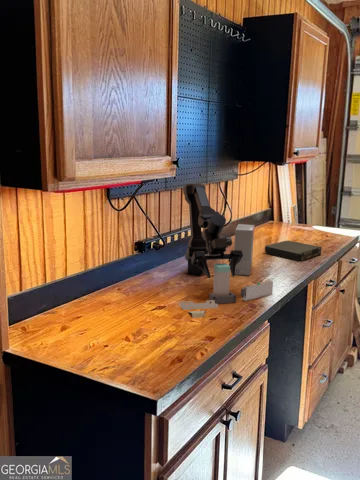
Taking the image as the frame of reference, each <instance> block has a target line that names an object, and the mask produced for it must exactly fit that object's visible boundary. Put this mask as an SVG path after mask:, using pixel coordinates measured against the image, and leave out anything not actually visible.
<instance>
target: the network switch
mask: <svg viewBox="0 0 360 480" xmlns="http://www.w3.org/2000/svg"><path fill="white" fill-rule="evenodd" d="M264 252H265V253H266V255H269V256H272V257H277V258H278V257H279V258H282V259H286V260H290V261H295V262H298V263H299V262H302V261H304V260H308V259H310V258H313V257H316V256H321V254H322V246H318V245H314V244H307V243H303V242H298V241H297V242H296V241H292V240H283V241H278V242H274V243H270V244H267V245H265V247H264Z"/></svg>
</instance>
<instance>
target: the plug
mask: <svg viewBox="0 0 360 480" xmlns="http://www.w3.org/2000/svg"><path fill="white" fill-rule="evenodd" d="M230 275H231V270H230V266H229V264H227V263H226V262H225V263H214V265H213V286H212V287H213V291H212V293H213V294H214V295H215V296H228V295H229V292H230V280H231V279H230V278H231V276H230Z"/></svg>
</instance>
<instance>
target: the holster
mask: <svg viewBox="0 0 360 480" xmlns="http://www.w3.org/2000/svg"><path fill="white" fill-rule="evenodd" d="M208 295H209V296H208V300H215V303H216V304H218V305H219V304H235V303H236V302H237V295H236V294H234V293H233V292H232V291H229V295H228V296H215V295H214V294H213V292H209V294H208Z"/></svg>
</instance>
